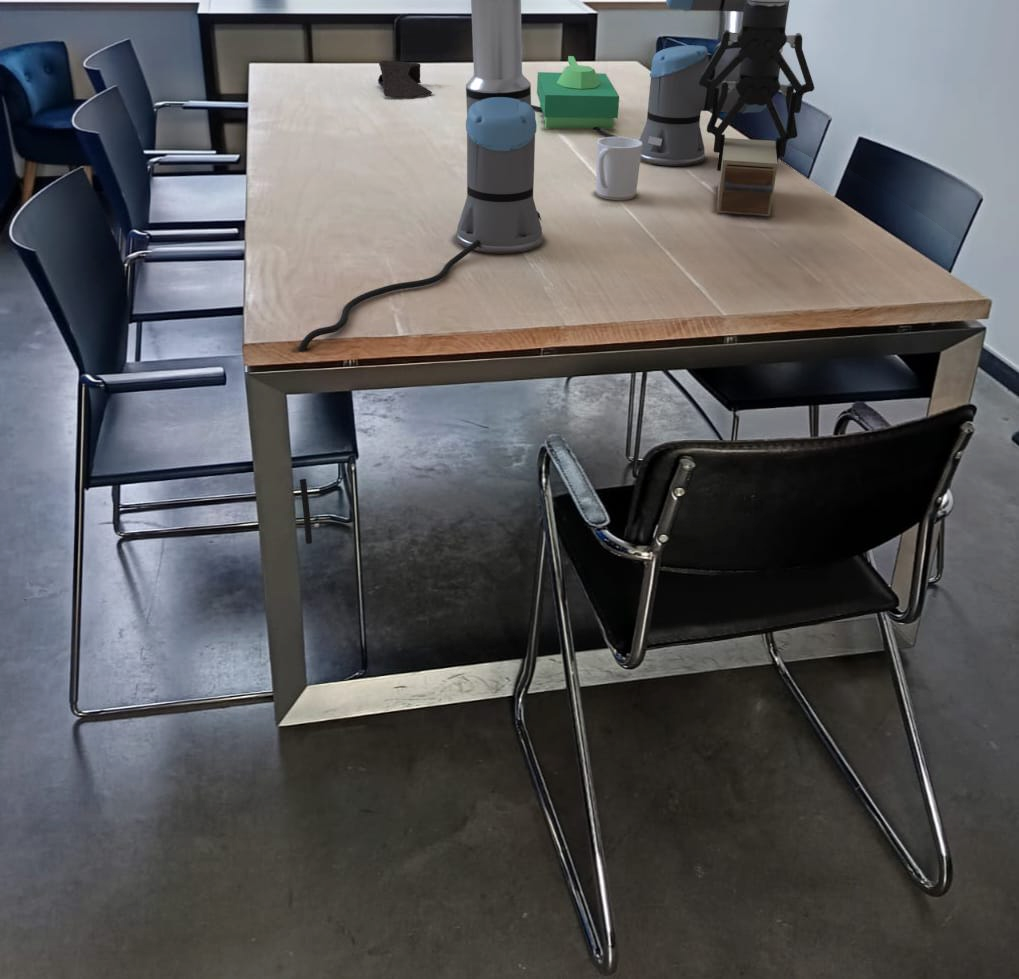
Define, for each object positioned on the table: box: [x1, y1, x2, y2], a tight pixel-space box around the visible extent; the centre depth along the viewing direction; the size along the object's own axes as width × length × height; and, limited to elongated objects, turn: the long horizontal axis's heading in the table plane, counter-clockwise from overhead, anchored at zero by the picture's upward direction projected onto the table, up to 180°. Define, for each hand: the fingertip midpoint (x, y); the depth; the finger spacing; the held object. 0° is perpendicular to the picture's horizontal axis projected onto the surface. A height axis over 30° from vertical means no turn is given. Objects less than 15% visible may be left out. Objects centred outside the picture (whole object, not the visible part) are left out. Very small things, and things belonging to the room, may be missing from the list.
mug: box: [595, 136, 642, 201], centre depth 218 cm, size 11×9×10 cm
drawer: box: [720, 165, 774, 214], centre depth 212 cm, size 21×9×8 cm, turn 170°
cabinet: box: [716, 137, 779, 217], centre depth 216 cm, size 17×10×10 cm, turn 170°
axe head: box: [377, 59, 433, 99], centre depth 299 cm, size 18×8×15 cm
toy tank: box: [536, 55, 620, 130], centre depth 276 cm, size 18×12×35 cm
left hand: (750, 129), depth 200 cm, fingers open, 13 cm apart
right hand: (746, 170), depth 220 cm, fingers closed on cabinet, 10 cm apart
